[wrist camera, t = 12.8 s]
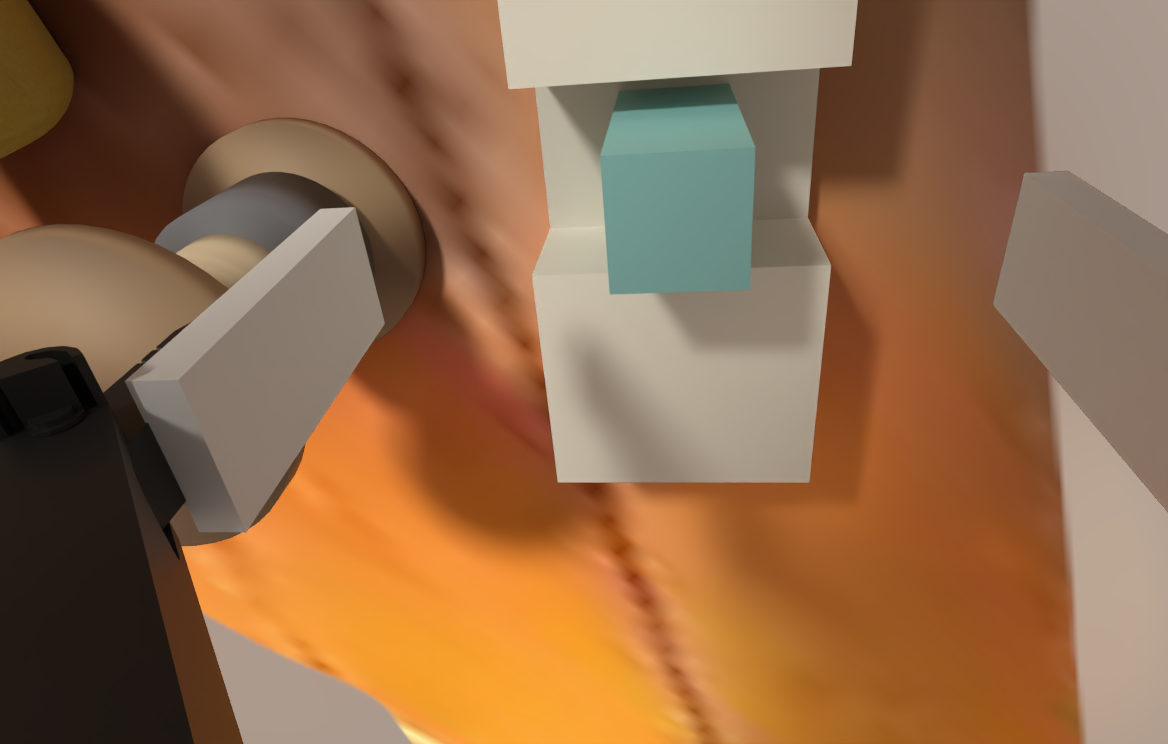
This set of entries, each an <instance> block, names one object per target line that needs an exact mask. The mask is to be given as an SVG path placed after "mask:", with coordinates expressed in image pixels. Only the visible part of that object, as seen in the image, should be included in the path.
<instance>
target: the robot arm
mask: <svg viewBox="0 0 1168 744" xmlns="http://www.w3.org/2000/svg"><path fill="white" fill-rule="evenodd" d="M993 305H994V307H995V308H996V309H997V310H998V311H999V313H1000V314H1001V315H1002V316H1003V317H1004V318H1005V320H1006V321H1007V322H1008V323H1009V324H1010V326H1011V327H1012V328H1013V329H1014V330H1015V332H1016V333H1017V334H1018V335H1019V336H1020V337H1021V339H1022V340H1023V341H1024V342H1025V343H1026V345H1027V346H1028V347H1029V348H1030V349H1031V351H1032V352H1033V353H1034V354H1035V355H1036V356H1037V358H1038V359H1039V360H1040V361H1041V362H1042V364H1043V365H1044V366H1045V367H1046V368H1047V369H1048V371H1049V372H1050V373H1051V374H1052V375H1053V377H1054V378H1055V379H1056V380H1057V381H1058V383H1059V384H1060V385H1061V386H1062V387H1063V388H1064V390H1065V391H1066V392H1067V393H1068V394H1069V396H1070V397H1071V398H1072V399H1073V400H1074V402H1075V403H1076V404H1077V405H1078V406H1079V407H1080V409H1081V410H1082V411H1083V412H1084V413H1085V415H1086V416H1087V417H1088V418H1089V419H1090V420H1091V422H1092V423H1093V424H1094V425H1095V426H1096V427H1097V429H1098V430H1099V431H1100V432H1101V434H1102V435H1103V436H1104V437H1105V438H1106V439H1107V441H1108V442H1109V443H1110V444H1111V445H1112V447H1113V448H1114V449H1115V450H1116V451H1117V452H1118V454H1119V455H1120V456H1121V457H1122V458H1123V460H1124V461H1125V462H1126V463H1127V464H1128V466H1129V467H1130V468H1131V469H1132V470H1133V471H1134V473H1135V474H1136V475H1137V476H1138V477H1139V479H1140V480H1141V481H1142V482H1143V483H1144V485H1145V486H1146V487H1147V488H1148V489H1149V490H1150V492H1151V493H1152V494H1153V495H1154V496H1155V498H1156V499H1157V500H1158V501H1159V502H1160V503H1161V505H1162V506H1163V507H1164V508H1165V509H1166V511H1167V512H1168V234H1166V233H1165V232H1163V231H1162V230H1160V229H1158V228H1157V227H1155V226H1154V225H1152V224H1151V223H1149V222H1147V221H1146V220H1144V219H1143V218H1141V217H1140V216H1138V215H1137V214H1135V213H1133V212H1132V211H1130V210H1128V209H1127V208H1126V207H1124V206H1122V205H1121V204H1119V203H1118V202H1116V201H1114V200H1113V199H1111V198H1110V197H1108V196H1107V195H1105V194H1104V193H1102V192H1101V191H1099V190H1097V189H1096V188H1094V187H1093V186H1091V185H1090V184H1088V183H1086V182H1085V181H1083V180H1082V179H1080V178H1078V177H1077V176H1076V175H1074V174H1072V173H1071V172H1069V171H1055V172H1035V173H1024V177H1023V181H1022V185H1021V189H1020V193H1019V198H1018V202H1017V206H1016V210H1015V214H1014V218H1013V222H1012V227H1011V231H1010V235H1009V239H1008V243H1007V247H1006V252H1005V256H1004V260H1003V264H1002V268H1001V272H1000V276H999V281H998V285H997V289H996V293H995V297H994V301H993ZM384 324H385V322H384V318H383V314H382V310H381V306H380V303H379V299H378V295H377V291H376V287H375V283H374V279H373V275H372V271H371V267H370V264H369V260H368V256H367V252H366V248H365V244H364V240H363V236H362V232H361V228H360V225H359V221H358V217H357V213H356V209H355V207H349V208H329V209H320V210H318V211H317V212H316V213H315V214H314V215H313V216H312V217H310V218H309V219H308V220H307V221H306V222H305V223H304V224H303V225H301V226H300V227H299V228H298V229H297V230H296V231H295V232H293V233H292V234H291V235H290V236H289V237H288V238H287V239H285V240H284V241H283V242H282V243H281V244H280V245H279V246H278V247H276V248H275V249H274V250H273V251H272V252H271V253H270V254H268V255H267V256H266V257H265V258H264V259H263V260H262V261H261V262H259V263H258V264H257V265H256V266H255V267H254V268H253V269H251V270H250V271H249V272H248V273H247V274H246V275H245V276H243V277H242V278H241V279H240V280H239V281H238V282H237V283H236V284H234V285H233V286H232V287H231V288H230V289H229V290H228V291H226V292H225V293H224V294H223V295H222V296H221V297H220V298H219V299H217V300H216V301H215V302H214V303H213V304H212V305H211V306H209V307H208V308H207V309H206V310H205V311H204V312H203V313H201V314H200V315H199V316H198V317H197V318H196V319H195V320H194V321H192V322H190V323H188V324H186V325H185V326H183V327H181V328H179V329H177V330H175V331H174V332H173V333H172V334H170V335H169V336H168V337H167V338H166V339H165V340H164V341H162V342H161V343H160V344H159V345H158V346H157V347H156V348H157V349H156V350H152V351H151V352H150V353H149V354H147V355H146V356H145V357H144V358H143V359H142V360H141V363H137V364H136V365H135V366H134V367H132V368H131V369H130V370H129V371H128V372H127V373H125V374H124V375H123V376H122V377H121V378H120V379H119V380H117V381H116V382H115V383H114V384H113V385H112V386H111V387H109V388H108V389H107V390H106V391H105V392H104V393H103V392H102V390H101V388H100V386H99V384H98V382H97V380H96V378H95V376H94V374H93V372H92V370H91V368H90V366H89V365H88V363H87V361H86V359H85V357H84V355H83V353H82V352H81V351H80V350H79V349H78V348H75V347H69V346H56V347H45V348H41V349H37V350H33V351H28V352H24V353H22V354H19V355H16V356H13V357H11V358H8V359H5V360H3V361H1V362H0V744H243V741H242V738H241V735H240V732H239V728H238V725H237V722H236V719H235V716H234V712H233V709H232V706H231V703H230V700H229V697H228V693H227V690H226V687H225V684H224V681H223V678H222V675H221V671H220V668H219V665H218V662H217V659H216V655H215V652H214V649H213V646H212V642H211V639H210V636H209V633H208V630H207V627H206V623H205V620H204V617H203V614H202V611H201V608H200V604H199V601H198V598H197V595H196V592H195V588H194V585H193V582H192V579H191V576H190V573H189V569H188V566H187V563H186V560H185V557H184V554H183V550H182V547H181V544H180V541H179V538H178V536H177V534H176V532H175V530H174V529H173V527H172V525H171V523H170V520H171V519H172V518H173V517H174V515H175V514H176V513H177V512H178V510H179V509H180V508H181V507H182V505H183V504H184V503H185V504H186V506H187V508H188V510H189V512H190V514H191V516H192V518H193V520H194V522H195V525H196V527H197V529H198V531H199V532H247V530H248V529H249V527H250V526H251V524H252V523H253V521H254V520H255V518H256V517H257V515H258V514H259V512H260V511H261V509H262V508H263V506H264V505H265V503H266V502H267V500H268V499H269V497H270V496H271V494H272V493H273V491H274V490H275V488H276V487H277V485H278V484H279V482H280V481H281V479H282V478H283V476H284V475H285V473H286V472H287V470H288V469H289V467H290V466H291V464H292V463H293V461H294V460H295V458H296V457H297V455H298V454H299V452H300V451H301V449H302V448H303V446H304V445H305V443H306V442H307V440H308V439H309V437H310V435H311V434H312V432H313V431H314V429H315V428H316V426H317V425H318V423H319V422H320V420H321V419H322V417H323V416H324V414H325V413H326V411H327V410H328V408H329V407H330V405H331V404H332V402H333V401H334V399H335V398H336V396H337V395H338V393H339V392H340V390H341V389H342V387H343V386H344V384H345V383H346V381H347V380H348V378H349V377H350V375H351V374H352V372H353V371H354V369H355V368H356V366H357V365H358V363H359V362H360V360H361V359H362V357H363V356H364V354H365V353H366V351H367V350H368V348H369V347H370V345H371V344H372V342H373V341H374V339H375V338H376V336H377V335H378V333H379V332H380V330H381V329H382V327H383V326H384Z"/></svg>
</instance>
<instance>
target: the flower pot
mask: <svg viewBox="0 0 1168 744" xmlns="http://www.w3.org/2000/svg"><path fill="white" fill-rule="evenodd" d="M73 88H74V74H73V70H72V68H71V66H70V64H69V62H68V60H67V59H66V57H65V56H64V54H63V53H62V51H61V50H60V48H59V47H58V45H57V44H56V42H55V41H54V39H53V38H52V36H51V35H50V33H49V32H48V30H47V29H46V27H45V26H44V24H43V23H42V21H41V20H40V18H39V17H38V15H37V14H36V12H35V11H34V9H33V8H32V6H31V5H30V3H29V2H28V0H0V159H1V158H3V157H5V156H7V155H9V154H11V153H13V152H15V151H16V150H18V149H20V148H22V147H24V146H26V145H28V144H30V143H31V142H33V141H35V140H37V139H38V138H40V137H41V136H43V135H44V134H46V133H47V132H48V131H49V130H50V129H52V128H53V127H54V126H55V125H56V124H57V123H58V122H59V120H60V119H61V118H62V116H63V115H64V114H65V112H66V110H67V108H68V106H69V104H70V101H71V99H72V95H73Z"/></svg>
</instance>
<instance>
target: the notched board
mask: <svg viewBox="0 0 1168 744" xmlns="http://www.w3.org/2000/svg"><path fill="white" fill-rule="evenodd" d="M497 1H498V9H499V17H500V25H501V33H502V41H503V49H504V57H505V65H506V73H507V81H508V89H518V88H533V87H535V91H536V100H537V109H538V119H539V128H540V137H541V147H542V156H543V165H544V175H545V184H546V193H547V202H548V212H549V221H550V231H549V233H548V236H547V238H546V241H545V244H544V246H543V249H542V251H541V254H540V256H539V259H538V261H537V264H536V267H535V269H534V272H533V274H532V280H533V288H534V296H535V304H536V312H537V320H538V328H539V336H540V344H541V352H542V360H543V368H544V376H545V384H546V392H547V400H548V408H549V416H550V424H551V432H552V440H553V448H554V456H555V464H556V471H557V479H558V482H718V483H809V481H810V471H811V462H812V452H813V442H814V432H815V422H816V412H817V402H818V392H819V382H820V372H821V362H822V352H823V342H824V333H825V323H826V313H827V303H828V293H829V283H830V273H831V264H830V262H829V259H828V257H827V255H826V253H825V251H824V249H823V247H822V245H821V243H820V241H819V239H818V237H817V235H816V233H815V231H814V229H813V227H812V225H811V223H810V221H809V219H808V209H809V197H810V184H811V172H812V159H813V147H814V134H815V122H816V110H817V97H818V85H819V72H820V68H828V67H843V66H851V65H852V55H853V45H854V35H855V25H856V15H857V5H858V0H497ZM715 84H730V87H731V89H732V91H733V94H734V96H735V99H736V101H737V104H738V106H739V108H740V111H741V113H742V116H743V118H744V121H745V123H746V126H747V128H748V130H749V133H750V135H751V138H752V140H753V143H754V145H755V171H754V197H753V223H752V249H751V275H750V290H733V291H703V292H673V293H643V294H613V295H610V292H609V278H608V263H607V249H606V235H605V220H604V206H603V191H602V177H601V163H600V155H601V151H602V148H603V144H604V141H605V138H606V134H607V131H608V128H609V124H610V121H611V117H612V114H613V111H614V107H615V104H616V100H617V97H618V94H619V91H627V90H641V89H656V88H671V87H685V86H700V85H715Z"/></svg>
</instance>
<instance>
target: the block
mask: <svg viewBox="0 0 1168 744" xmlns="http://www.w3.org/2000/svg"><path fill="white" fill-rule="evenodd" d="M600 163H601V177H602V191H603V206H604V220H605V235H606V249H607V263H608V278H609V292H610V295H613V294H643V293H673V292H703V291H733V290H750V275H751V249H752V223H753V197H754V171H755V145H754V143H753V140H752V138H751V135H750V133H749V130H748V128H747V126H746V123H745V121H744V118H743V116H742V113H741V111H740V108H739V106H738V104H737V101H736V99H735V96H734V94H733V91H732V89H731V87H730V84H715V85H700V86H685V87H671V88H656V89H641V90H627V91H619V94H618V97H617V100H616V104H615V107H614V111H613V114H612V117H611V121H610V124H609V128H608V131H607V134H606V138H605V141H604V144H603V148H602V151H601V155H600Z"/></svg>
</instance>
